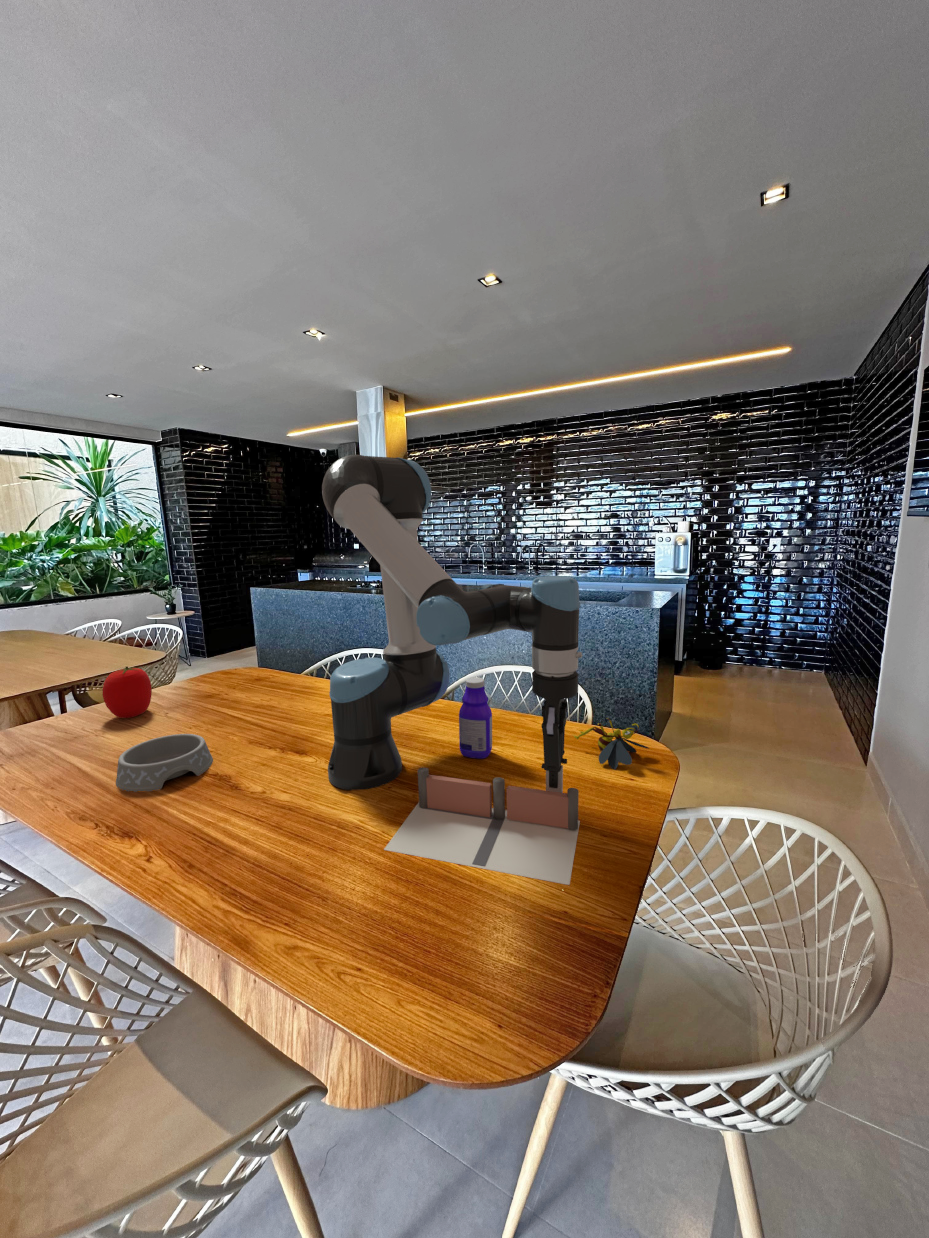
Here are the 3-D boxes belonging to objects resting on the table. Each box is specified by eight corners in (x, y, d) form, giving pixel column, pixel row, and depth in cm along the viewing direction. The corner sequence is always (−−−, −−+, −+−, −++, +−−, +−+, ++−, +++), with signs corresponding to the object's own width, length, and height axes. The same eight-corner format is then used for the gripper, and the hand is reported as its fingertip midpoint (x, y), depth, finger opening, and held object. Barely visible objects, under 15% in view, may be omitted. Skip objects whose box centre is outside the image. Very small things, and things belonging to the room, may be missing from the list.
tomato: (137, 723, 136) (129, 672, 134) (95, 724, 137) (87, 673, 134) (165, 706, 149) (158, 660, 146) (127, 707, 149) (119, 660, 146)
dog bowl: (106, 774, 109) (102, 751, 108) (196, 745, 122) (193, 724, 121) (129, 802, 97) (124, 776, 96) (225, 767, 111) (223, 744, 110)
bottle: (495, 750, 114) (494, 676, 111) (488, 762, 109) (486, 684, 106) (465, 746, 117) (462, 674, 113) (456, 757, 112) (454, 682, 108)
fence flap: (506, 819, 87) (506, 784, 85) (508, 814, 88) (508, 779, 87) (577, 830, 83) (578, 794, 82) (578, 824, 85) (579, 788, 84)
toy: (588, 708, 119) (650, 718, 109) (590, 742, 120) (652, 754, 110) (561, 723, 111) (627, 735, 100) (564, 759, 112) (629, 775, 101)
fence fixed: (417, 807, 92) (415, 771, 90) (421, 801, 94) (420, 766, 92) (503, 821, 87) (503, 783, 85) (506, 814, 89) (505, 778, 87)
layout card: (383, 851, 80) (383, 849, 80) (422, 799, 95) (422, 796, 95) (569, 887, 71) (569, 884, 71) (579, 823, 86) (579, 820, 86)
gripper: (574, 684, 76) (572, 825, 81) (581, 661, 89) (579, 784, 93) (525, 680, 79) (526, 818, 83) (538, 658, 91) (538, 779, 95)
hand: (554, 800), depth 88 cm, fingers closed
